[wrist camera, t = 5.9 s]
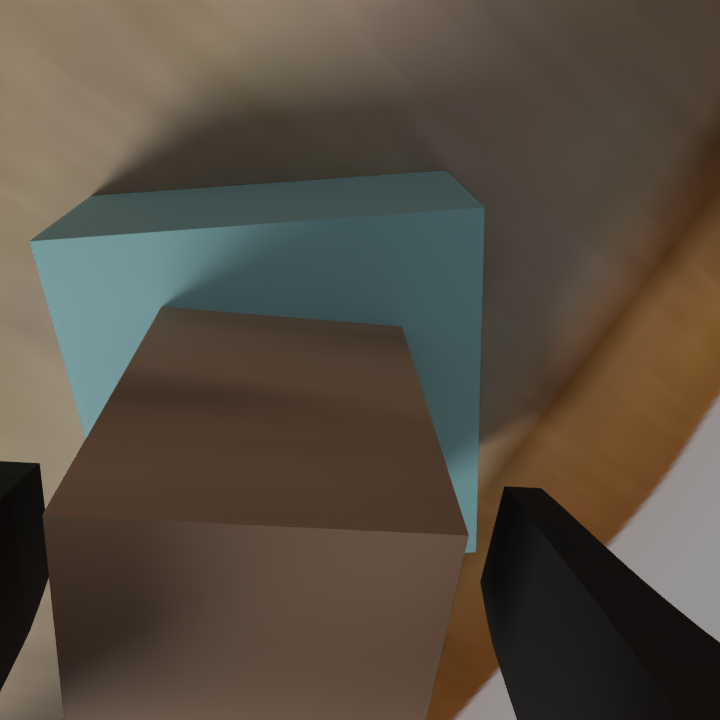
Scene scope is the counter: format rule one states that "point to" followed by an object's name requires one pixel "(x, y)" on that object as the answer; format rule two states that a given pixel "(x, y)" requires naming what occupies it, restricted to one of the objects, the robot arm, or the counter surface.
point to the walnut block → (256, 529)
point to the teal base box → (282, 280)
